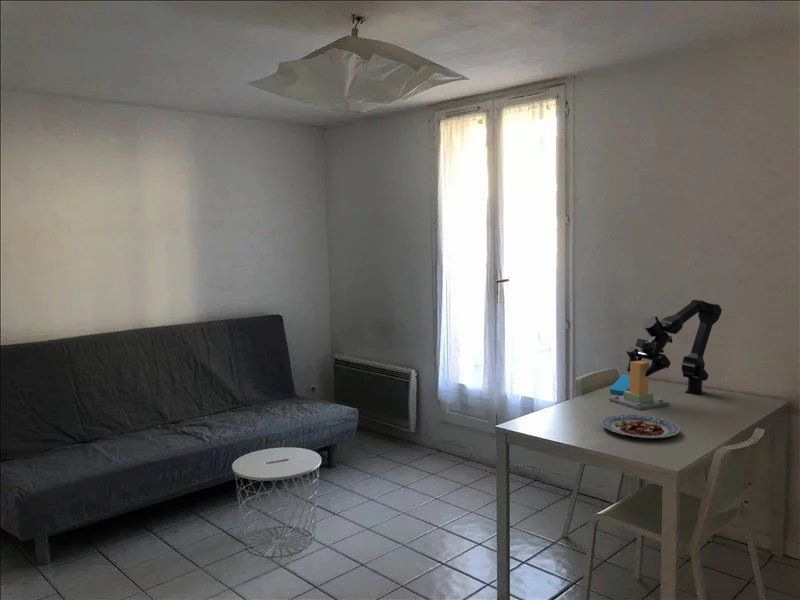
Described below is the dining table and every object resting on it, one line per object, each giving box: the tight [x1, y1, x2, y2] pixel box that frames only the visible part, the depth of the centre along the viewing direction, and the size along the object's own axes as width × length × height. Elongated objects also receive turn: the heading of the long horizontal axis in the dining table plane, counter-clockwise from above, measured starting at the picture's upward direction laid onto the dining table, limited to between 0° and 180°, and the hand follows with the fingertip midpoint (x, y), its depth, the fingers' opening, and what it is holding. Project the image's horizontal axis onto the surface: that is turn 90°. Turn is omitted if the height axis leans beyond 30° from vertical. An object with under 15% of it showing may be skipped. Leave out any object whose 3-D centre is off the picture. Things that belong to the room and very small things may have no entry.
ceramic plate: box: [601, 414, 681, 439], centre depth 227 cm, size 26×26×3 cm
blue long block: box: [609, 374, 630, 396], centre depth 282 cm, size 7×7×18 cm
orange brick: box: [629, 360, 650, 395], centre depth 261 cm, size 5×5×12 cm
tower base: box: [608, 391, 669, 411], centre depth 262 cm, size 16×16×4 cm
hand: (636, 373), depth 260 cm, fingers open, 9 cm apart
